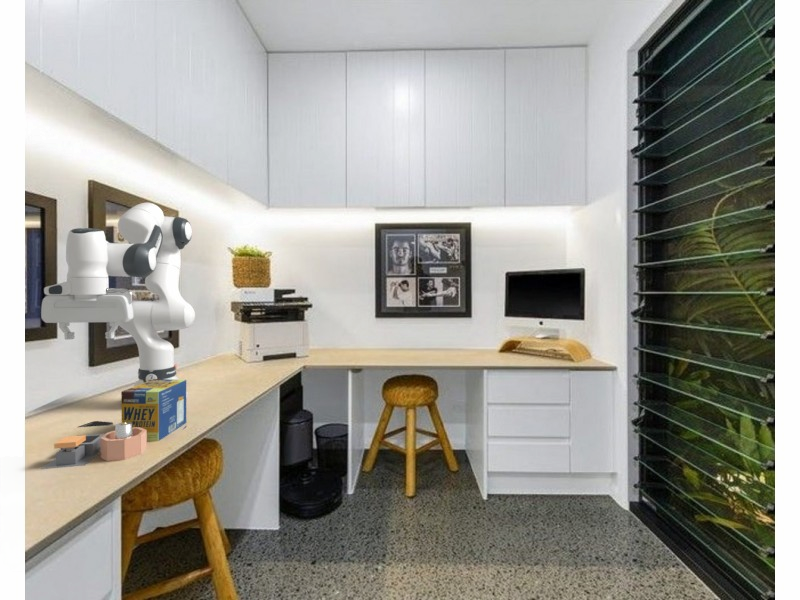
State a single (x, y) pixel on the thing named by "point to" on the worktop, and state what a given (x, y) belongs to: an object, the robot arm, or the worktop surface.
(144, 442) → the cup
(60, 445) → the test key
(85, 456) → the gray square socket tray
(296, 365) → the worktop surface
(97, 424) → the phone
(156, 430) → the protein box
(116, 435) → the cell
